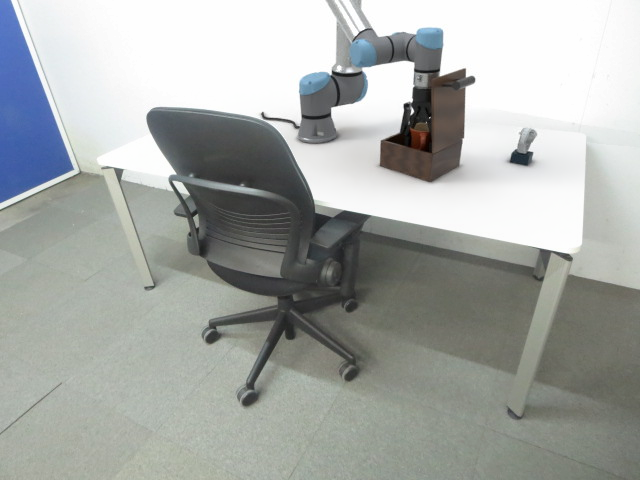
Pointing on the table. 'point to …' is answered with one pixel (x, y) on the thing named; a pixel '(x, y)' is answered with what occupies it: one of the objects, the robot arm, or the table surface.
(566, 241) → the table surface
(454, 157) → the chest
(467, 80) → the lid
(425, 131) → the mug
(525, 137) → the white bust statue
